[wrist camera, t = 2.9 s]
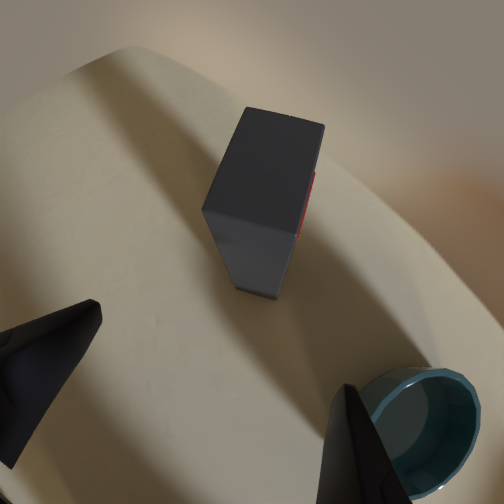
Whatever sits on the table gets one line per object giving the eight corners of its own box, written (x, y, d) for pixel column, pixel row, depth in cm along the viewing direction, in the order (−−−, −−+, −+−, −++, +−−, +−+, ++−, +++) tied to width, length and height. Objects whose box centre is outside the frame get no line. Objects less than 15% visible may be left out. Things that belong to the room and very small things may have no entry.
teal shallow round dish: (367, 500, 17) (384, 524, 13) (320, 409, 20) (333, 423, 16) (462, 434, 18) (491, 444, 14) (427, 342, 21) (457, 339, 17)
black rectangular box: (277, 301, 23) (300, 237, 9) (233, 288, 23) (197, 209, 10) (294, 242, 24) (328, 124, 11) (252, 230, 25) (243, 105, 11)
